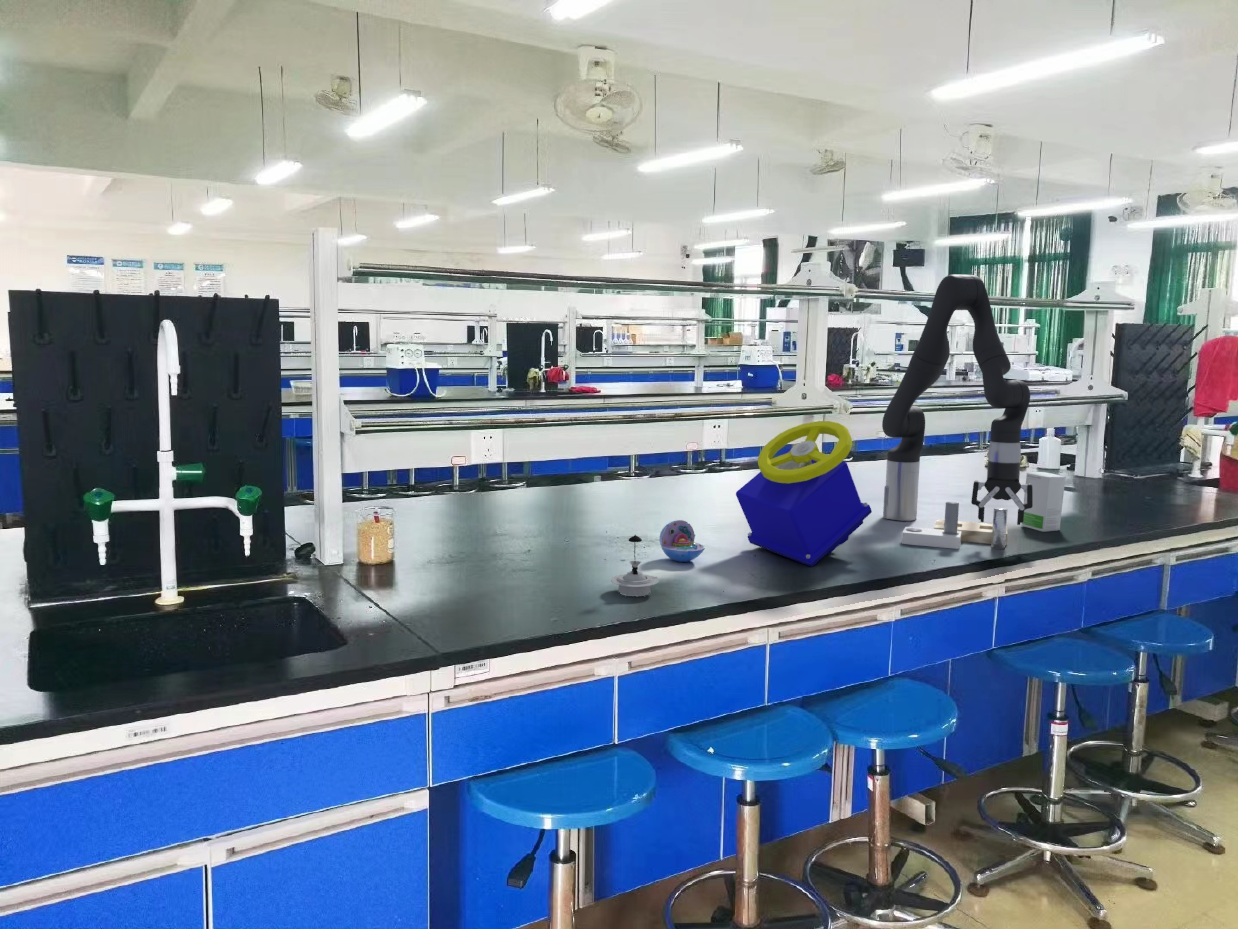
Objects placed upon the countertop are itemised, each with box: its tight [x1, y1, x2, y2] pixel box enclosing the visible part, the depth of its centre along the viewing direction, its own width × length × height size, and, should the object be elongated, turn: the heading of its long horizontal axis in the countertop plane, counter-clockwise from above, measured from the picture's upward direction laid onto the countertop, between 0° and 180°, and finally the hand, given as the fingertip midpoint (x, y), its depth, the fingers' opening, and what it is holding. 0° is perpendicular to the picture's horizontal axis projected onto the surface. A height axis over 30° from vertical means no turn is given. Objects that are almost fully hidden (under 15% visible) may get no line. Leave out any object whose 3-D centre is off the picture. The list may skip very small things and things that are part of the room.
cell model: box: [658, 519, 705, 563], centre depth 213 cm, size 10×12×10 cm
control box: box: [735, 420, 873, 568], centre depth 217 cm, size 26×27×30 cm
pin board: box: [933, 519, 1008, 546], centre depth 242 cm, size 18×12×3 cm, turn 67°
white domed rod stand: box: [610, 534, 660, 595], centre depth 186 cm, size 12×10×10 cm
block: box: [901, 501, 962, 550], centre depth 234 cm, size 14×8×11 cm, turn 67°
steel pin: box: [991, 507, 1008, 550], centre depth 230 cm, size 3×3×10 cm
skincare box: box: [1020, 471, 1066, 533], centre depth 253 cm, size 8×7×16 cm
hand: (1000, 523), depth 229 cm, fingers open, 8 cm apart
